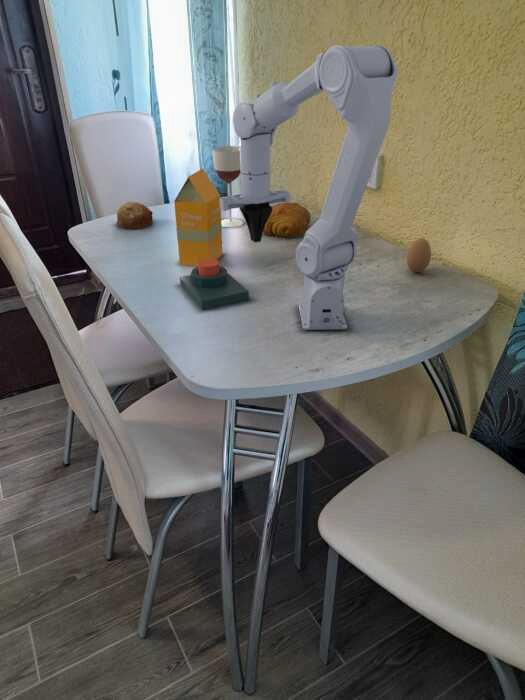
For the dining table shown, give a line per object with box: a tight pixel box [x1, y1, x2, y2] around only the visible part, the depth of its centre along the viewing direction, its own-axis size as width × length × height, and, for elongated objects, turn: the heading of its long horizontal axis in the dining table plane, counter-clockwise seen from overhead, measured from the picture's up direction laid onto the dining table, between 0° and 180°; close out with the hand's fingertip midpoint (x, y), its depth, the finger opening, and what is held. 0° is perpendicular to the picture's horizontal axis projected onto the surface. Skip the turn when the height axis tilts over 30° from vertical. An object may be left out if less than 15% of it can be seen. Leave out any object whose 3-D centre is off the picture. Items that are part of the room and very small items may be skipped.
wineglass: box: [212, 145, 244, 228], centre depth 139 cm, size 8×9×20 cm
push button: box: [197, 259, 221, 276], centre depth 103 cm, size 4×4×2 cm
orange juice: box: [173, 168, 224, 267], centre depth 115 cm, size 8×9×20 cm
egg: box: [405, 237, 432, 274], centre depth 112 cm, size 5×5×8 cm
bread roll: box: [116, 201, 154, 230], centre depth 142 cm, size 10×10×8 cm
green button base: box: [179, 265, 250, 311], centre depth 103 cm, size 13×10×4 cm
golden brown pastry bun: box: [263, 201, 312, 238], centre depth 138 cm, size 14×16×8 cm
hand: (255, 240), depth 104 cm, fingers closed
